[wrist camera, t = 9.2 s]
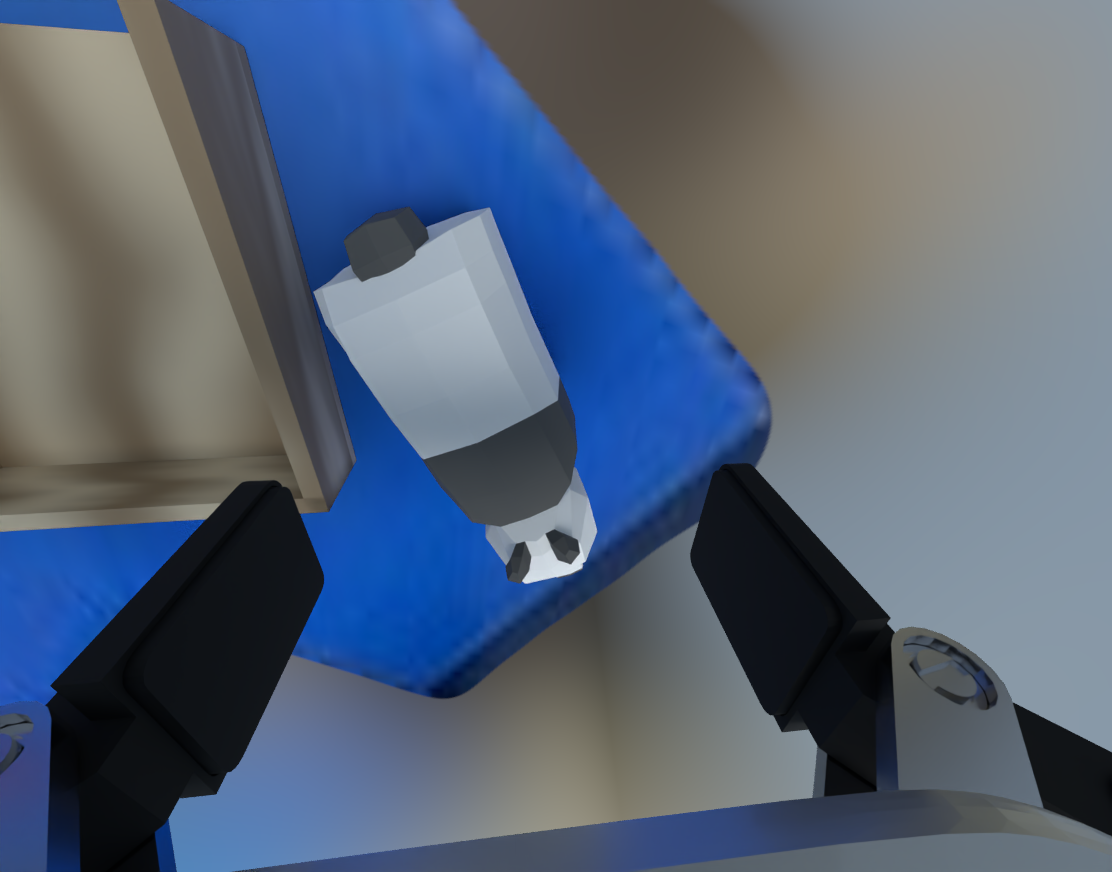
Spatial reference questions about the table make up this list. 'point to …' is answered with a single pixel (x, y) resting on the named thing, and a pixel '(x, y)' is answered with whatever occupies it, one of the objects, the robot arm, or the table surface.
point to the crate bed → (150, 284)
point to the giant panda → (466, 380)
